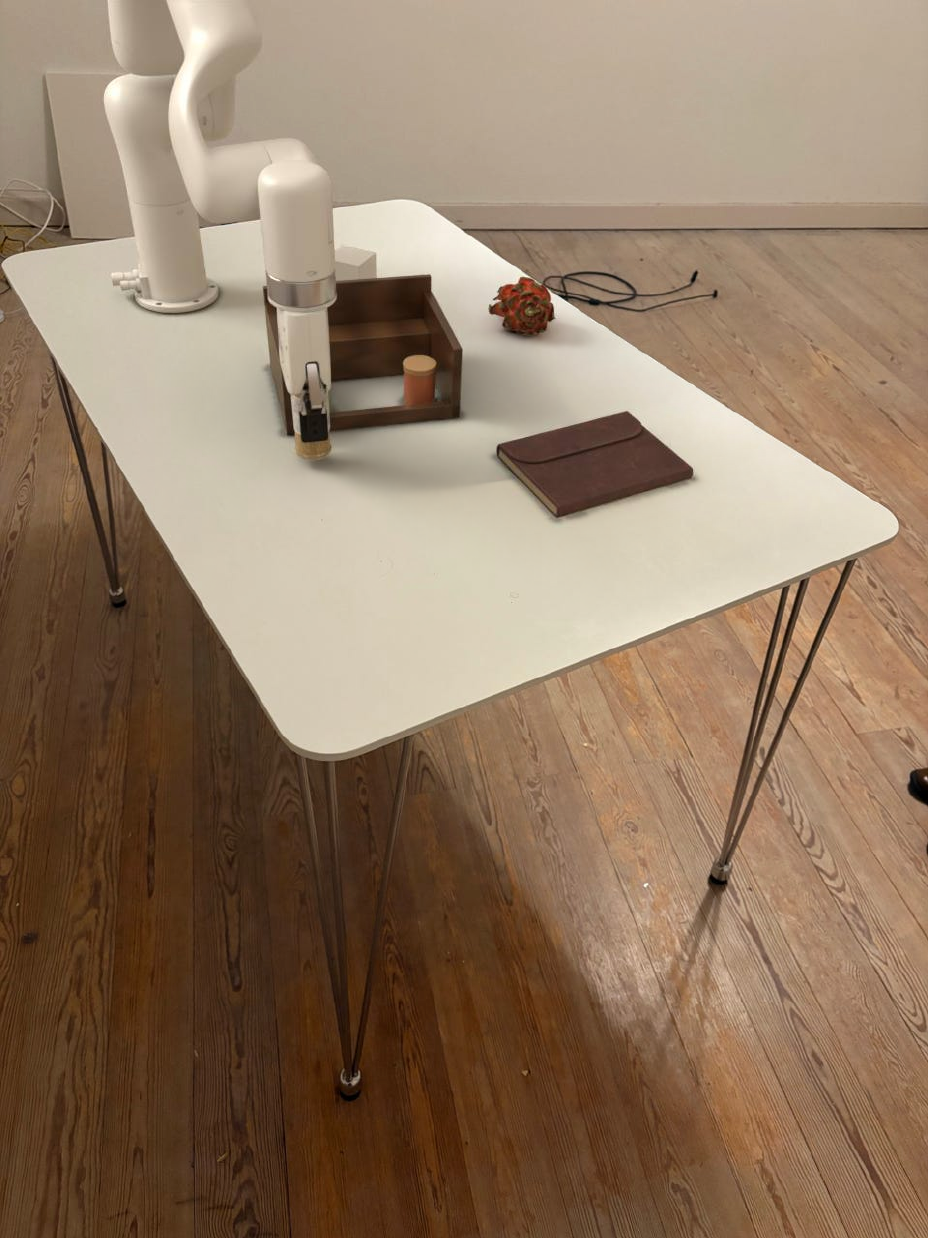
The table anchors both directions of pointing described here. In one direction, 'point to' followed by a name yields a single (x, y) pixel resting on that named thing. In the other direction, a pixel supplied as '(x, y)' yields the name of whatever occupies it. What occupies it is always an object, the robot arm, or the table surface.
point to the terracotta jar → (419, 379)
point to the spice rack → (381, 347)
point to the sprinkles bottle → (302, 449)
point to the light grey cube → (354, 263)
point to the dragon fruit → (524, 307)
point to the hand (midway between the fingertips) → (311, 427)
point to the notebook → (592, 463)
